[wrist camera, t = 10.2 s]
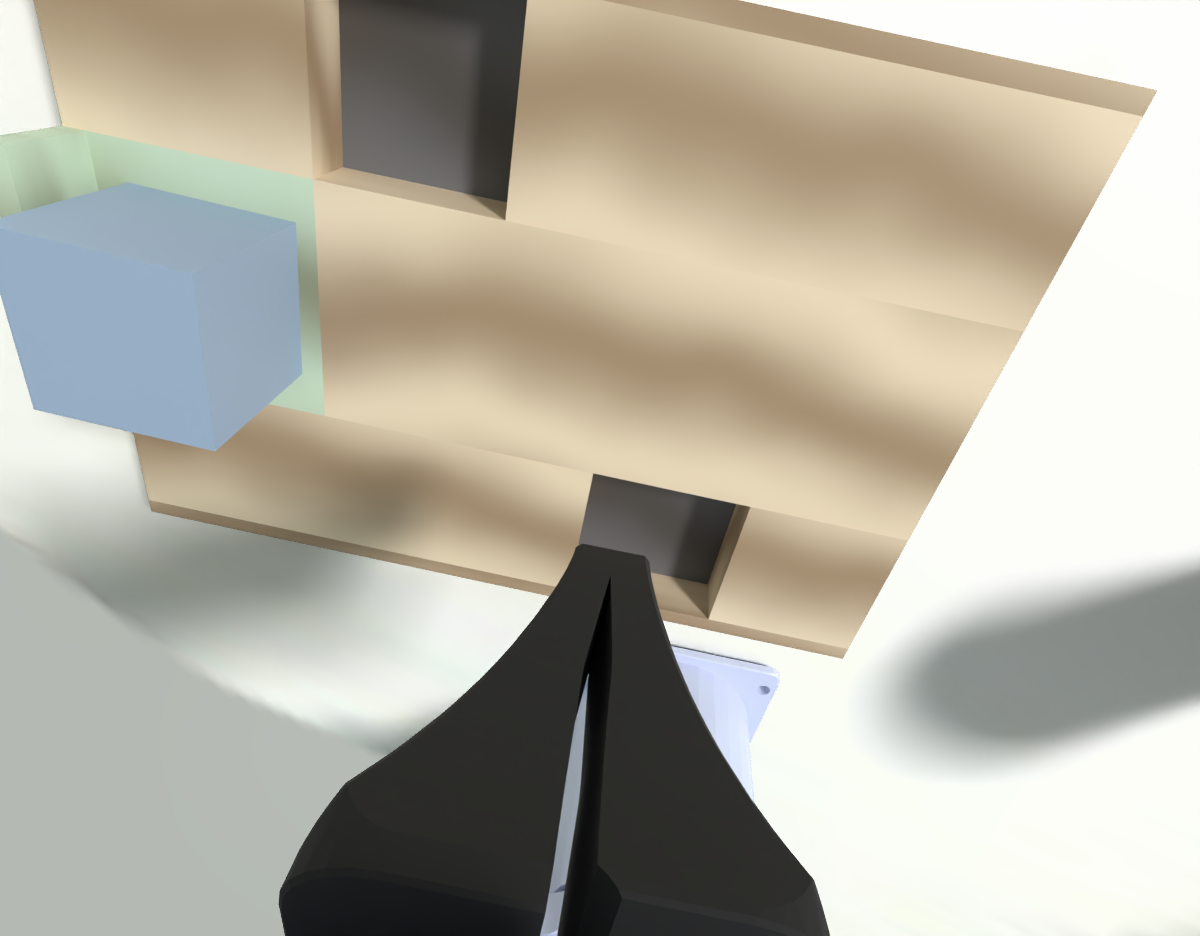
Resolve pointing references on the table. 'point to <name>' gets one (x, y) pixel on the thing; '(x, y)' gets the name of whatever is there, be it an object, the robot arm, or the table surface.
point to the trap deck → (597, 273)
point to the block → (152, 311)
